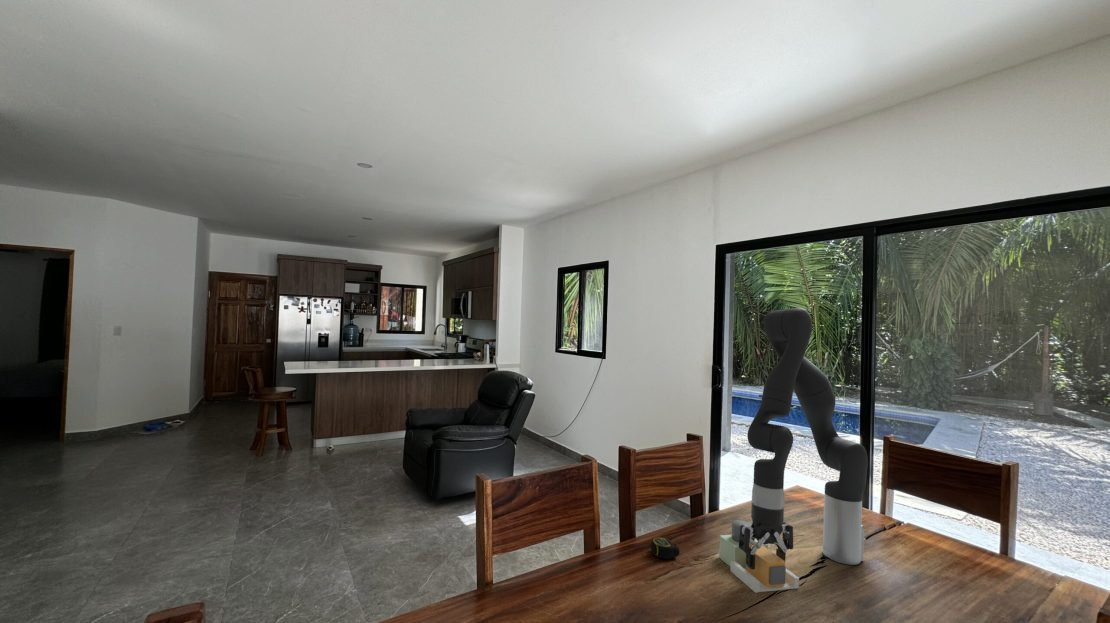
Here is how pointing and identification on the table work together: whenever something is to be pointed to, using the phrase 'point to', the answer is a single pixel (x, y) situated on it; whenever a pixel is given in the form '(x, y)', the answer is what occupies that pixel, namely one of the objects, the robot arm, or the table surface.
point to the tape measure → (664, 548)
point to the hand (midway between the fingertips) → (765, 566)
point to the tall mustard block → (768, 568)
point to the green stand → (737, 561)
